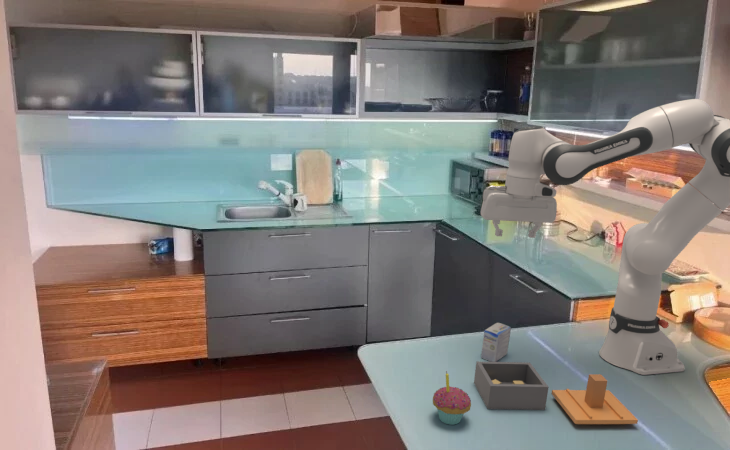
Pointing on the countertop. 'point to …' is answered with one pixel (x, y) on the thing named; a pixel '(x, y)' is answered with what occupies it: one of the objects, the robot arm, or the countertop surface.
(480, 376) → the tub
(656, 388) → the countertop surface
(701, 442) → the countertop surface
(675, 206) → the robot arm
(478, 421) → the countertop surface
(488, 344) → the medicine box
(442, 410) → the cupcake
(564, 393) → the lid
